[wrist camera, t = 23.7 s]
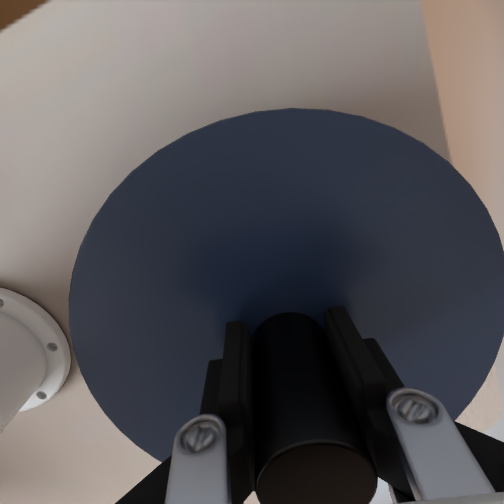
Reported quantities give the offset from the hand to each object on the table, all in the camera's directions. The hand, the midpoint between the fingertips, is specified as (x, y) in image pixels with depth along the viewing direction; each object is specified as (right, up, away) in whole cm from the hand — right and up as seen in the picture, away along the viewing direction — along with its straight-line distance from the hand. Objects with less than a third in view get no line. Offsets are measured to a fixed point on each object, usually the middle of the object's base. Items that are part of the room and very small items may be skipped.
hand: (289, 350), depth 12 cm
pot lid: (0, 0, +1) cm, 1 cm away
